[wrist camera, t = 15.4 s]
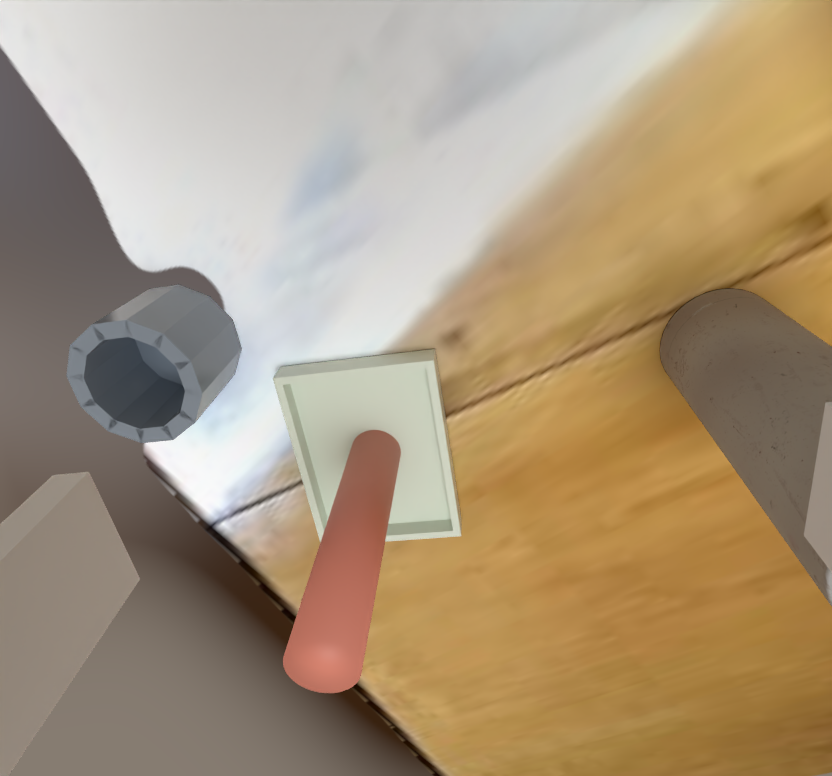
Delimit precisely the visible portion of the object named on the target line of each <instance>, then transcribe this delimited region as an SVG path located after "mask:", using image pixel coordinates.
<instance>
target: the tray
mask: <svg viewBox="0 0 832 776" xmlns="http://www.w3.org/2000/svg"><path fill="white" fill-rule="evenodd" d="M273 381H274V384H275V388H276V391H277V395H278V398H279V401H280V405H281V408H282V412H283V415H284V419H285V422H286V426H287V429H288V432H289V436H290V439H291V443H292V446H293V450H294V453H295V457H296V460H297V463H298V467H299V470H300V474H301V477H302V481H303V484H304V488H305V491H306V494H307V498H308V501H309V505H310V508H311V512H312V515H313V518H314V522H315V525H316V529H317V532H318V536H319V539H320V543H321V540H322V537H323V533H324V530H325V527H326V524H327V521H328V518H329V515H330V512H331V509H332V506H333V503H334V499H335V496H336V493H337V490H338V487H339V484H340V481H341V478H342V475H343V472H344V469H345V465H346V462H347V459H348V456H349V453H350V450H351V447H352V444H353V441H354V440H355V438H356V437H357V436H358V435H359V434H361V433H363V432H365V431H368V430H380V431H384V432H386V433H388V434H390V435H392V436H393V437H394V438H395V439H396V440H397V442H398V443H399V446H400V449H401V456H400V462H399V468H398V473H397V479H396V484H395V490H394V495H393V501H392V506H391V512H390V517H389V523H388V528H387V534H386V539H385V541H399V540H413V539H427V538H441V537H455V536H461V514H460V507H459V501H458V494H457V488H456V481H455V475H454V468H453V462H452V455H451V449H450V442H449V436H448V429H447V423H446V416H445V410H444V403H443V397H442V391H441V384H440V378H439V371H438V365H437V358H436V352H435V349H430V350H421V351H412V352H404V353H395V354H386V355H378V356H369V357H360V358H352V359H343V360H334V361H326V362H317V363H308V364H300V365H291V366H282V367H280V369H279V370H278V372H277V373H276V375H275V376H274V378H273Z"/></svg>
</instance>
